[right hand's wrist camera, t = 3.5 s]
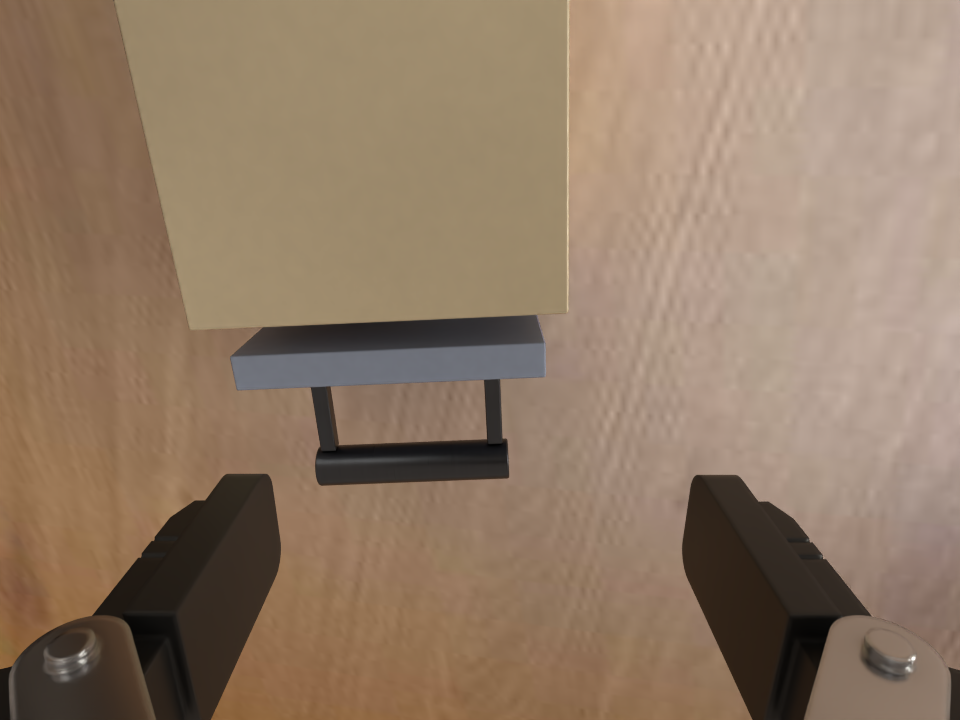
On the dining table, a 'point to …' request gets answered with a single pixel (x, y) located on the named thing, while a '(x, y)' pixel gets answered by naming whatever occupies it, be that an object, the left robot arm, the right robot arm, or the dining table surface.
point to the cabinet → (357, 156)
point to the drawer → (389, 360)
